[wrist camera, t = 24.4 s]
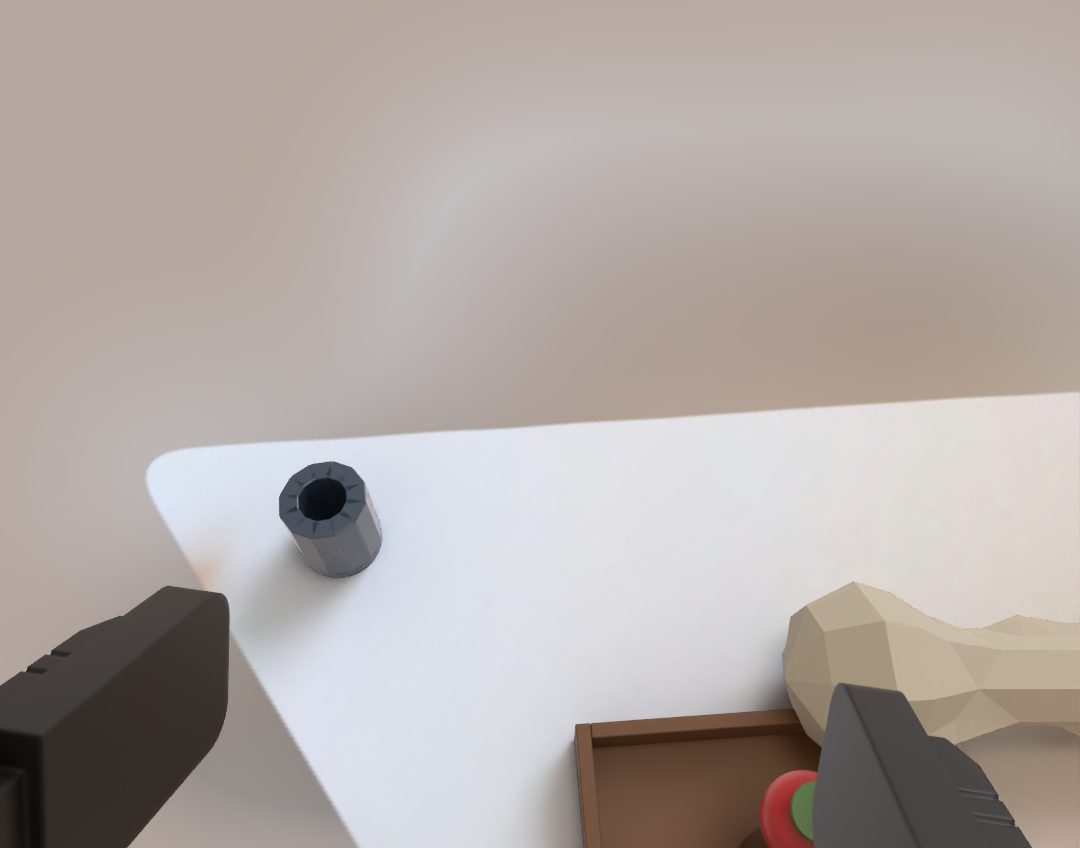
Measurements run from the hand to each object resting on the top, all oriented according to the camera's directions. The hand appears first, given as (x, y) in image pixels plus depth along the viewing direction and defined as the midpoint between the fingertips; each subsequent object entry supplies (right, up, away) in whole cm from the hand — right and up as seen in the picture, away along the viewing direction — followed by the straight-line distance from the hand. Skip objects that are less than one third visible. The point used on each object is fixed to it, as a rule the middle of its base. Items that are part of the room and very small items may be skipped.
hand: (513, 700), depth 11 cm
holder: (-11, -3, +37) cm, 39 cm away
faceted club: (+24, -10, +31) cm, 41 cm away
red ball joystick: (+10, -16, +28) cm, 33 cm away
